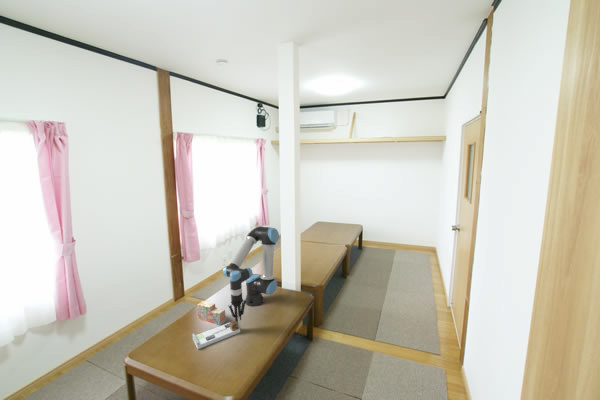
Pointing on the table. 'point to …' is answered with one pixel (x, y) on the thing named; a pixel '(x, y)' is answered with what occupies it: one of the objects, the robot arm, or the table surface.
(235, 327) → the walnut block
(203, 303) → the stack of blocks
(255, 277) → the robot arm
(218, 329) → the box
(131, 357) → the table surface
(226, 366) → the table surface
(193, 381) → the table surface
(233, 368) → the table surface
